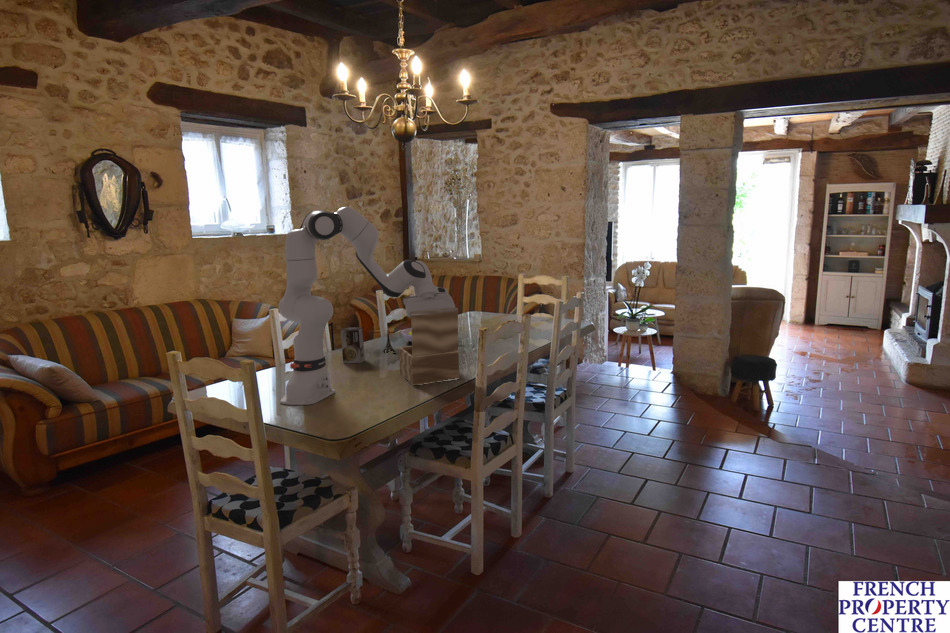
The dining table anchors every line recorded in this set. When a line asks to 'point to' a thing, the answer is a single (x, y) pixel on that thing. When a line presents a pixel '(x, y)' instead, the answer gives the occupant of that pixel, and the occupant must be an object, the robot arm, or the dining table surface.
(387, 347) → the eiffel tower figurine
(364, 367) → the dining table surface
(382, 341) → the dining table surface
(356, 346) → the coffee box
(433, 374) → the carton
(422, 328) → the carton flap
